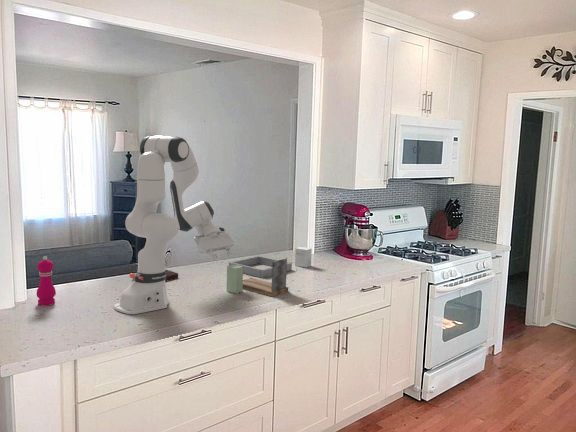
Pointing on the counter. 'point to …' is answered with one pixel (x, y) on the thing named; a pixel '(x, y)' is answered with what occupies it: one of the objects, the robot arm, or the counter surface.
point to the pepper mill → (45, 283)
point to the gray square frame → (256, 271)
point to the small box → (303, 257)
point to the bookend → (277, 281)
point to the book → (169, 275)
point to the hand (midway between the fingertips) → (223, 257)
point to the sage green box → (234, 278)
